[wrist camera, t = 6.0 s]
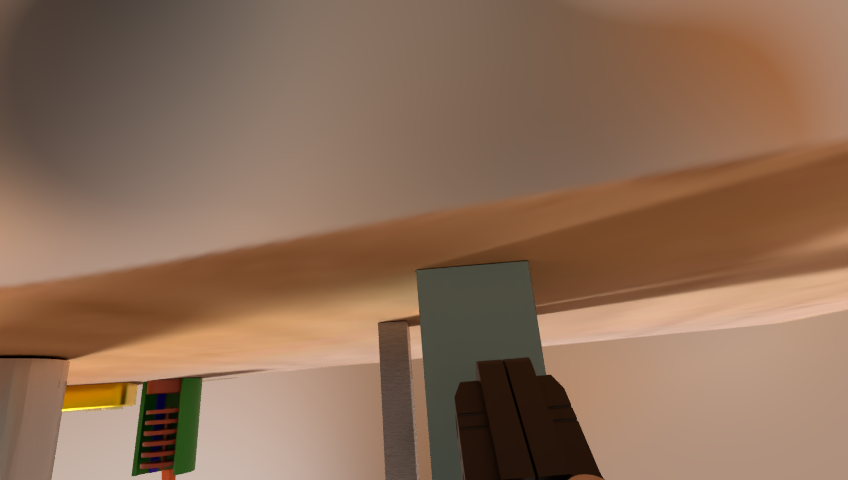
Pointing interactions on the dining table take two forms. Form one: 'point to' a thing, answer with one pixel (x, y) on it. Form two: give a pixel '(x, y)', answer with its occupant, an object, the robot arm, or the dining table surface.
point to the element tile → (99, 397)
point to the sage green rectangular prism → (470, 340)
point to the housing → (398, 402)
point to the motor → (168, 427)
